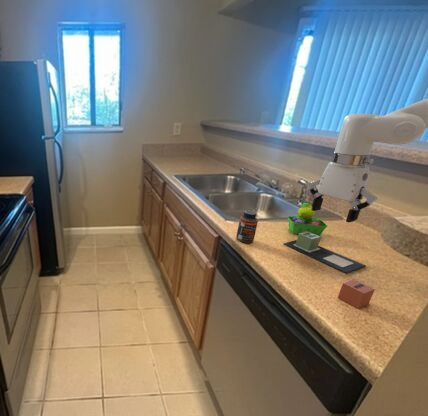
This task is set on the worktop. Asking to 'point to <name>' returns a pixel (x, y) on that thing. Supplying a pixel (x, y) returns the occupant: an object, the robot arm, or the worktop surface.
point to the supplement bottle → (247, 227)
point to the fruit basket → (306, 221)
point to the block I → (356, 293)
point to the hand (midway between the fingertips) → (332, 215)
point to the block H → (308, 240)
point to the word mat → (328, 258)
